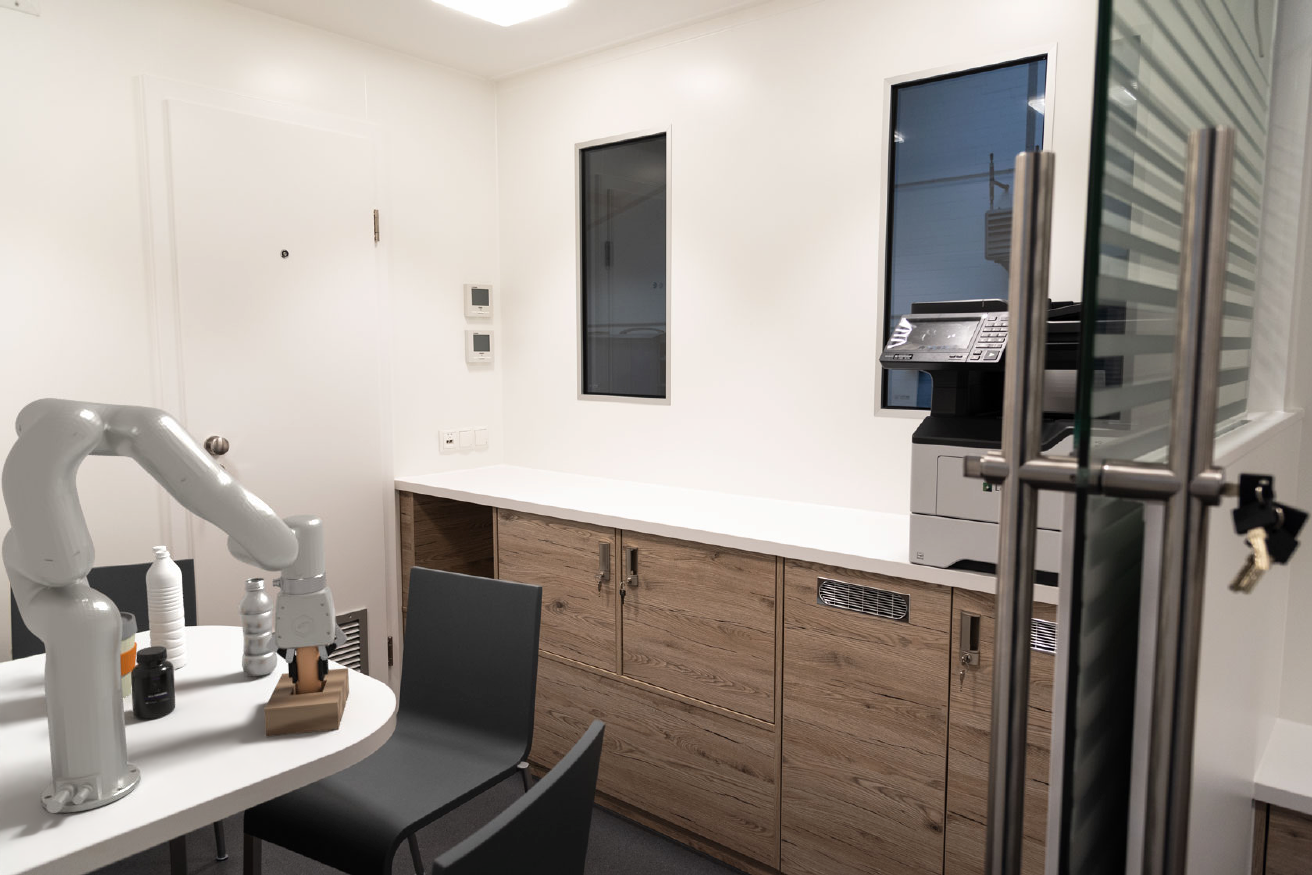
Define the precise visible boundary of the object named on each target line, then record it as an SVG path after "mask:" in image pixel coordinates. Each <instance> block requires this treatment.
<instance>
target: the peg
mask: <svg viewBox="0 0 1312 875" xmlns="http://www.w3.org/2000/svg"><path fill="white" fill-rule="evenodd" d="M295 655H296V661H297V678H298V694H308V693H319V692H322V688H321V681H319V670H318V660H319V659H320V652H319V649H318V646H316V647H304V648H296V653H295Z"/></svg>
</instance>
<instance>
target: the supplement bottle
mask: <svg viewBox="0 0 1312 875" xmlns="http://www.w3.org/2000/svg"><path fill="white" fill-rule="evenodd" d="M166 659H167V649H166V647H162V646H154V647H151V646H150V647H144V648H141V649H139V650H138V651H136V663H135V667H134V668H133V670H132V671H131V703H132V715H133V717H134V718H135V719H138V720H141V721H142V720H143V721H145V720H154V719H159V718H163V717H167V716H168V715H169V714H172V713H173V712H174V710H175V709H176V690H175V689H176V687H175V684H176V683H175V670H174V666H173V664H172V663H171V662H170V661H168V660H166Z"/></svg>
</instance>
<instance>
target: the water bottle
mask: <svg viewBox="0 0 1312 875" xmlns="http://www.w3.org/2000/svg"><path fill="white" fill-rule="evenodd" d="M152 553H154V554H155V556H154V557H155V560H154V561H153V562H152V564H151V566H149V569H148V570H147V572H146V574H145V584H146V595H147V610H148V616H147V617H148V621H149V622H148V627H149V639H150V642H149V645H150V647H154V646H162V647H166V649H167V659H166V660H168V661H170V662H171V663H172V664H173V666H174V671H175V670H176V669H177V670H178V669H180V668H183V667H184V666H186V665H187V664H188V653H187V642H186V638H187V635H186V626H185V625H186V624H185V623H186V622H185V607H184V598H183V597H184V594H183V577H182V576H183V575H182V571H181V568H180V567H179V566H178V565H177V563H175V562H174V561H173V559H172V558H171V557H170V556H171V554H170V550H167V546H166V545H157V546H153V547H152Z"/></svg>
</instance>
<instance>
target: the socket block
mask: <svg viewBox="0 0 1312 875" xmlns="http://www.w3.org/2000/svg"><path fill="white" fill-rule="evenodd" d="M349 676H350V675H349V668H348V667H346V668H335V669H334V668H333V669H332V668H331V669H329V672H328V674H327V675H325V678H324V680H323V681H321V688H322V692H319V693H308V694H298V681H297V683H296V684H293V683H292V678H289V672H287V673H281V676H280V678H279V680H278V681H277V684H276V686H275V687H274V689H273V690H272V694H271V695H270V698H269V699H268V701H267V703H266V705H265V707H264V709H263V710H264V726H265V727H264V729H265V737H274V736H285V735H293V734H294V735H295V734H303V733H314V731H316V732H324V731H333V730H332V729H336V730H339V729H340V726H341V723H342V720H343V719H342V718H343V715H344V711H345V709H346V704H347V702H346V701H348V698H349V695H350V682H349ZM344 708H345V709H344ZM340 722H341V723H340Z"/></svg>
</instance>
